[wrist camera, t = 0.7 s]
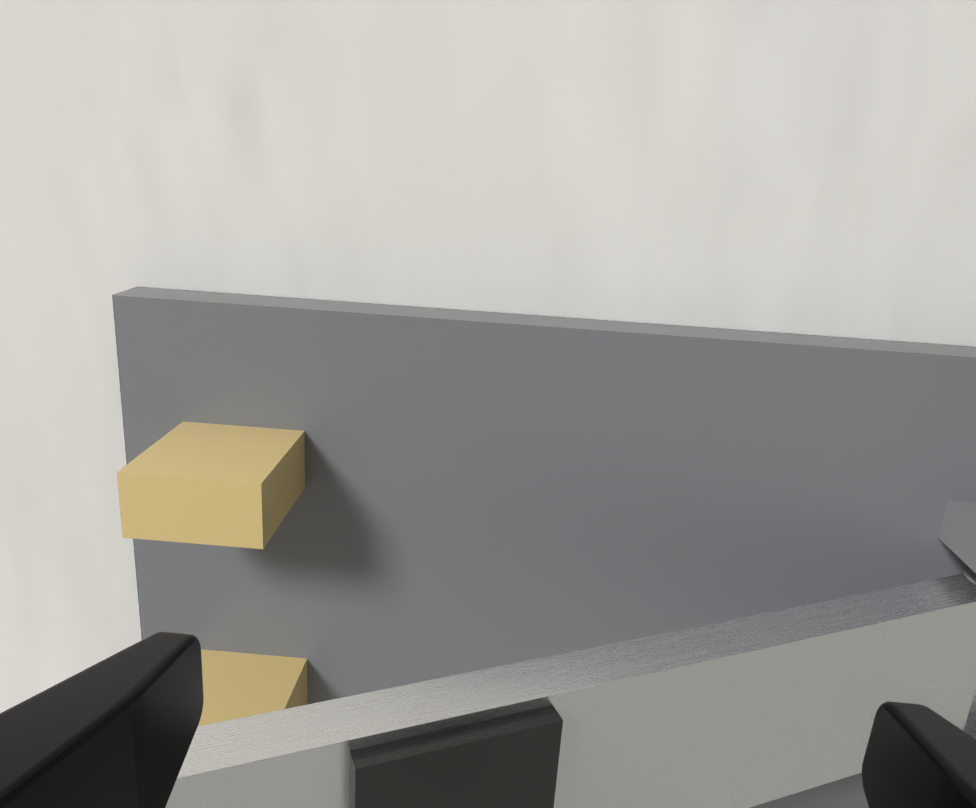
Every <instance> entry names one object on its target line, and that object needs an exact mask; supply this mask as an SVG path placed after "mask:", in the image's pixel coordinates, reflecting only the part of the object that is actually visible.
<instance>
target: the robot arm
mask: <svg viewBox="0 0 976 808" xmlns="http://www.w3.org/2000/svg"><path fill="white" fill-rule="evenodd" d="M203 702H204V695H203V677H202V658H201V646H200V642H199V640H198V638H197V637H195V636H194V635H192V634H183V633H173V632H158V633H155V634H153V635H151V636H149V637H147V638H145V639H143V640H142V641H140V642H138V643H136V644H134V645H132V646H130V647H128V648H126V649H124V650H122V651H120V652H118V653H116V654H114V655H113V656H111V657H109V658H107V659H105V660H103V661H101V662H99V663H97V664H95V665H93V666H91V667H89V668H87V669H85V670H84V671H82V672H80V673H78V674H76V675H74V676H72V677H70V678H68V679H66V680H64V681H62V682H60V683H58V684H56V685H54V686H53V687H51V688H49V689H47V690H45V691H43V692H41V693H39V694H37V695H35V696H33V697H31V698H29V699H27V700H25V701H24V702H22V703H20V704H18V705H16V706H14V707H12V708H10V709H8V710H6V711H4V712H2V713H0V808H165V807H166V805H167V802H168V800H169V797H170V795H171V792H172V790H173V787H174V785H175V782H176V780H177V777H178V775H179V772H180V770H181V767H182V765H183V762H184V760H185V757H186V755H187V752H188V750H189V747H190V745H191V742H192V740H193V737H194V735H195V732H196V730H197V727H198V725H199V722H200V718H201V715H202V710H203ZM861 774H862V785H863V790H864V793H865V797H866V800H867V803H868V807H869V808H976V739H975V738H973V737H972V736H970V735H969V734H967V733H966V732H964V731H963V730H961V729H960V728H958V727H957V726H955V725H954V724H952V723H951V722H949V721H948V720H946V719H945V718H943V717H942V716H940V715H939V714H937V713H936V712H934V711H933V710H931V709H930V708H928V707H926V706H924V705H920V704H912V703H901V702H890V701H888V702H885V703H883V704H881V705H880V706H879V708H878V709H877V712H876V714H875V717H874V721H873V725H872V729H871V733H870V736H869V740H868V744H867V748H866V751H865V755H864V759H863V763H862V772H861Z"/></svg>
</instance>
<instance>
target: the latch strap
mask: <svg viewBox="0 0 976 808" xmlns="http://www.w3.org/2000/svg"><path fill="white" fill-rule="evenodd" d="M888 701H890V702H901V703H912V704H920V705H924V706H926V707H928V708H930V709H931V710H933V711H934V712H936V713H937V714H939V715H940V716H942V717H943V718H945V719H946V720H948V721H949V722H951V723H952V724H954V725H955V726H957V727H958V728H960V729H961V730H963V731H964V732H966V733H967V734H969V735H970V736H972V737H973V738H975V739H976V573H975V572H974V571H973V570H972V569H970V568H969V567H967V568H965V569H964V572H963V574H958V575H953V576H948V577H943V578H938V579H933V580H928V581H923V582H918V583H913V584H908V585H903V586H898V587H893V588H888V589H883V590H878V591H873V592H868V593H863V594H858V595H853V596H848V597H843V598H838V599H833V600H828V601H823V602H818V603H813V604H808V605H803V606H798V607H793V608H788V609H783V610H778V611H773V612H768V613H763V614H758V615H753V616H748V617H743V618H738V619H733V620H728V621H723V622H718V623H713V624H708V625H703V626H698V627H693V628H688V629H683V630H678V631H673V632H668V633H663V634H658V635H653V636H648V637H643V638H638V639H633V640H628V641H623V642H618V643H613V644H608V645H603V646H598V647H593V648H588V649H583V650H578V651H573V652H568V653H563V654H558V655H553V656H548V657H543V658H538V659H533V660H528V661H523V662H518V663H513V664H508V665H503V666H498V667H493V668H488V669H483V670H478V671H473V672H468V673H463V674H458V675H453V676H448V677H443V678H438V679H433V680H428V681H423V682H418V683H413V684H408V685H403V686H398V687H393V688H388V689H383V690H378V691H373V692H368V693H363V694H358V695H353V696H348V697H343V698H338V699H333V700H328V701H323V702H318V703H313V704H308V705H303V706H298V707H293V708H288V709H283V710H278V711H273V712H268V713H263V714H258V715H253V716H248V717H243V718H238V719H233V720H228V721H223V722H218V723H213V724H208V725H203V726H198V727H197V730H196V732H195V735H194V737H193V740H192V742H191V745H190V747H189V750H188V752H187V755H186V757H185V760H184V762H183V765H182V767H181V770H180V772H179V775H178V777H177V780H176V782H175V785H174V787H173V790H172V792H171V795H170V797H169V800H168V802H167V805H166V807H165V808H750V807H753V806H756V805H760V804H763V803H766V802H769V801H772V800H776V799H779V798H782V797H785V796H788V795H792V794H795V793H798V792H801V791H804V790H808V789H811V788H814V787H817V786H820V785H824V784H827V783H830V782H833V781H836V780H840V779H843V778H846V777H849V776H852V775H855V774H859V773H861V772H862V763H863V759H864V755H865V751H866V748H867V744H868V740H869V736H870V733H871V729H872V725H873V721H874V717H875V714H876V712H877V709H878V708H879V706H880V705H881V704H883V703H885V702H888Z"/></svg>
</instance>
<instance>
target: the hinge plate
mask: <svg viewBox="0 0 976 808" xmlns="http://www.w3.org/2000/svg"><path fill="white" fill-rule="evenodd" d="M112 298H113V310H114V321H115V333H116V345H117V356H118V368H119V380H120V391H121V403H122V415H123V426H124V438H125V450H126V461H127V465H126V466H124V467H123V468H122V469H120V470H119V471H118V472H117V478H118V489H119V500H120V511H121V522H122V533H123V538H133V543H134V555H135V566H136V578H137V590H138V601H139V613H140V625H141V636H142V640H143V639H145V638H147V637H149V636H151V635H153V634H155V633H158V632H173V633H183V634H192V635H194V636H195V637H197V638H198V640H199V642H200V646H201V658H202V677H203V695H204V702H203V710H202V715H201V718H200V722H199V725H198V726H203V725H208V724H213V723H218V722H223V721H228V720H233V719H238V718H243V717H248V716H253V715H258V714H263V713H268V712H273V711H278V710H283V709H288V708H293V707H298V706H303V705H308V704H313V703H318V702H323V701H328V700H333V699H338V698H343V697H348V696H353V695H358V694H363V693H368V692H373V691H378V690H383V689H388V688H393V687H398V686H403V685H408V684H413V683H418V682H423V681H428V680H433V679H438V678H443V677H448V676H453V675H458V674H463V673H468V672H473V671H478V670H483V669H488V668H493V667H498V666H503V665H508V664H513V663H518V662H523V661H528V660H533V659H538V658H543V657H548V656H553V655H558V654H563V653H568V652H573V651H578V650H583V649H588V648H593V647H598V646H603V645H608V644H613V643H618V642H623V641H628V640H633V639H638V638H643V637H648V636H653V635H658V634H663V633H668V632H673V631H678V630H683V629H688V628H693V627H698V626H703V625H708V624H713V623H718V622H723V621H728V620H733V619H738V618H743V617H748V616H753V615H758V614H763V613H768V612H773V611H778V610H783V609H788V608H793V607H798V606H803V605H808V604H813V603H818V602H823V601H828V600H833V599H838V598H843V597H848V596H853V595H858V594H863V593H868V592H873V591H878V590H883V589H888V588H893V587H898V586H903V585H908V584H913V583H918V582H923V581H928V580H933V579H938V578H943V577H948V576H953V575H958V574H963V572H964V569H965V568H967V567H969V568H970V569H972V570H973V571H974V572H975V573H976V347H970V346H956V345H942V344H928V343H914V342H900V341H886V340H872V339H858V338H845V337H831V336H817V335H803V334H789V333H775V332H761V331H747V330H733V329H719V328H705V327H691V326H677V325H663V324H649V323H635V322H621V321H607V320H593V319H579V318H566V317H552V316H538V315H524V314H510V313H496V312H482V311H468V310H454V309H440V308H426V307H412V306H398V305H384V304H370V303H356V302H342V301H328V300H314V299H300V298H286V297H273V296H259V295H245V294H231V293H217V292H203V291H189V290H175V289H161V288H147V287H135V288H132V289H129V290H126V291H123V292H120V293H117V294H114V295H112ZM750 808H869V807H868V803H867V800H866V797H865V793H864V790H863V785H862V774H861V773H859V774H855V775H852V776H849V777H846V778H843V779H840V780H836V781H833V782H830V783H827V784H824V785H820V786H817V787H814V788H811V789H808V790H804V791H801V792H798V793H795V794H792V795H788V796H785V797H782V798H779V799H776V800H772V801H769V802H766V803H763V804H760V805H756V806H753V807H750Z"/></svg>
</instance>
